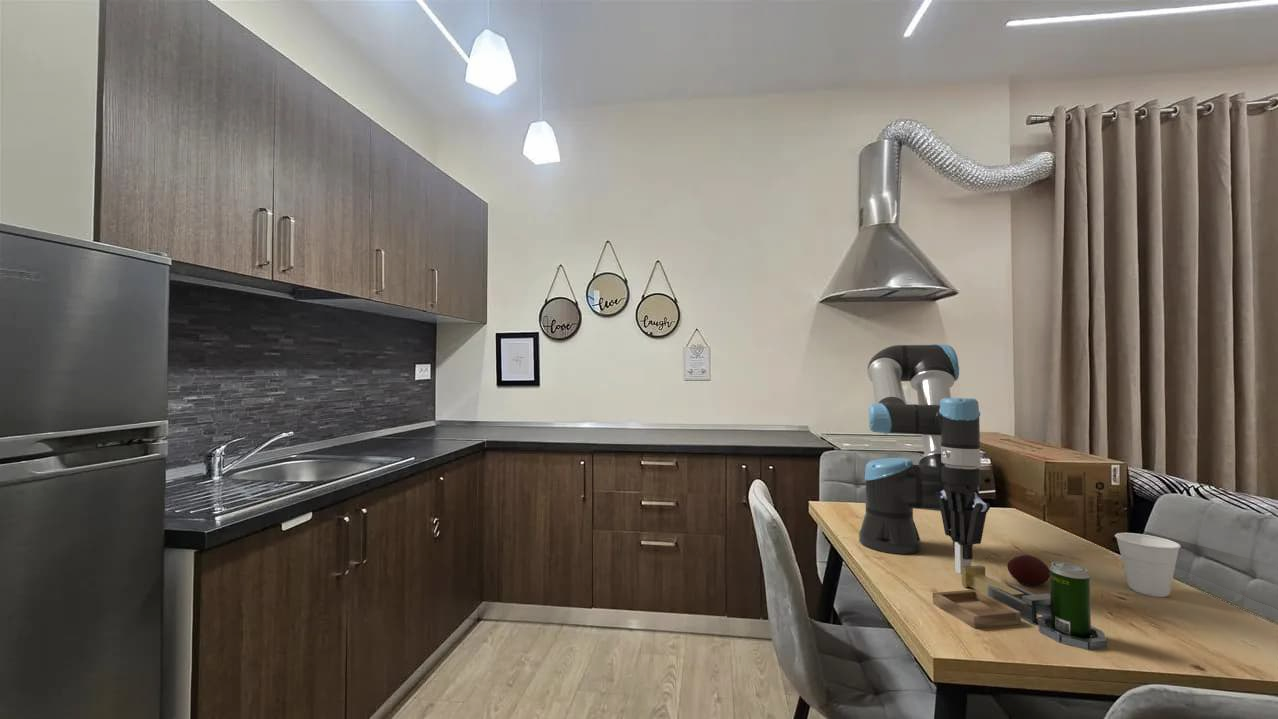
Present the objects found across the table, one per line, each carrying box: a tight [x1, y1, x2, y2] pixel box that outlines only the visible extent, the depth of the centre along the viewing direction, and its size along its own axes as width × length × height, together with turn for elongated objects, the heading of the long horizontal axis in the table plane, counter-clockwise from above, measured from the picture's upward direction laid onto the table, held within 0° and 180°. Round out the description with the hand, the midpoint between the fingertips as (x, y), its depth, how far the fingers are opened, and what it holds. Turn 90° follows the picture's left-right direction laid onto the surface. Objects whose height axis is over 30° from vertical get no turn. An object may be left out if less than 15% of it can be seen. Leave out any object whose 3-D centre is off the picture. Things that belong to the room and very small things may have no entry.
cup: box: [1114, 532, 1182, 598], centre depth 106 cm, size 10×10×11 cm
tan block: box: [961, 564, 1024, 600], centre depth 103 cm, size 11×5×4 cm, turn 10°
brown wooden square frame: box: [932, 588, 1022, 629], centre depth 96 cm, size 10×10×2 cm
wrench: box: [987, 583, 1108, 651], centre depth 93 cm, size 18×9×4 cm, turn 10°
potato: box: [1006, 554, 1050, 587], centre depth 110 cm, size 8×9×6 cm
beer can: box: [1049, 561, 1092, 639], centre depth 88 cm, size 5×5×12 cm
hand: (963, 572), depth 110 cm, fingers closed
